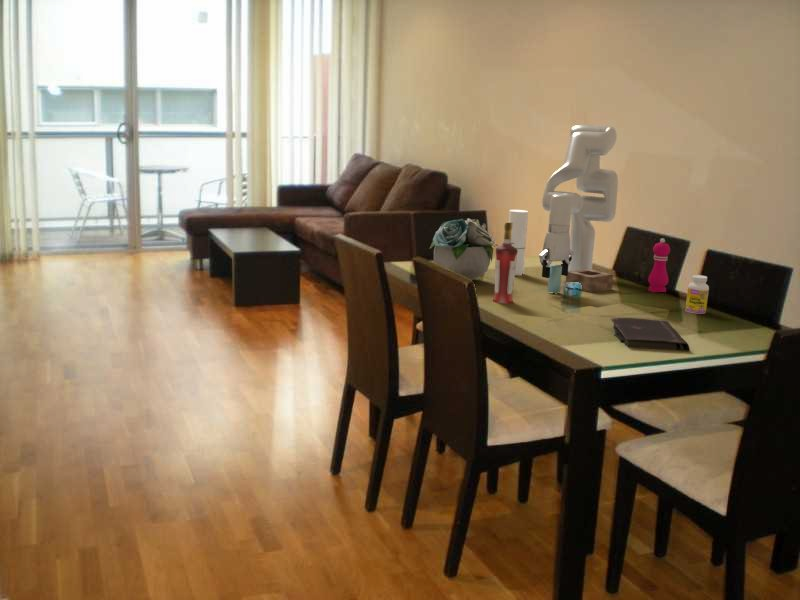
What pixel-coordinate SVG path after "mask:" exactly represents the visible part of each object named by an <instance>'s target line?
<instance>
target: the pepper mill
mask: <svg viewBox="0 0 800 600" xmlns="http://www.w3.org/2000/svg"><path fill="white" fill-rule="evenodd" d="M665 239H666V238H664V237H663V238H660V240H659V242H657V243H655V244H654V246H653V247H652V250H653V253H654V255H653V260H654V264H653V267H652V270H651V271H650V273H649V275H648V279H647V282H648V283H649V286H648V292H650V291H651V292H650V293H655V292H665V293H666V292H667V287H666V286H667V285H668V283H669V276H668V272H667V268H666V265H667V261H668V255H669V254H670V252H671V248H670V245H669V244H668V243H666V240H665Z"/></svg>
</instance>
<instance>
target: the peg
mask: <svg viewBox="0 0 800 600" xmlns="http://www.w3.org/2000/svg"><path fill="white" fill-rule="evenodd" d="M549 267H550V277H549V278H548V282H547V283H548V284H547V293H548V292H553V293H558V292H560V293H561V286H562V285H561V283H562V275H561V274H562V266H561V264H552V263H551V264H550V266H549Z"/></svg>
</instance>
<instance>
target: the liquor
mask: <svg viewBox="0 0 800 600" xmlns="http://www.w3.org/2000/svg"><path fill="white" fill-rule="evenodd" d="M503 224H504V226H503V228H504V229H503V231H504V232H503V233H504V234H503V237H502V238H503V239H502V244H501V245H498V246H496V247H495V259H494V260H495V261H494V271H495V272H494V274H495V275H494V294H493V295H494V296H493V299H492V301H493V303H496V304H497V303H498V304H506V305H509V304H512V303H514V301H513V291H514V284H515V283H514V282H515V276H516V275H515V269H516V260H517V252H518V250H517V249H516V248H515V247H513V246H511V230H512V224H513V222H509V221H504V223H503Z"/></svg>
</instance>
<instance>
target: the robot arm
mask: <svg viewBox="0 0 800 600" xmlns="http://www.w3.org/2000/svg"><path fill="white" fill-rule="evenodd" d="M569 136H570V137H569V141H568V145H567V148H566V153H565V155H564V156H565V157H564V160H563V161H564V162H563V164H562V166H561V167H560V168H559V169H557V170H556V171H555V172H554V173H553V174H552V175H550V176H549V178H548V179H547V181H546V183H545V188H544V190H543V191H544V192H543V194H542V200H541V204H542V208H543V209H544V210H545V211H547V212H549V214H548V215H549V217H548V226H547V227H548V228H547V232H546V233H545V237H544V240H543V248H542V252H541V253H539V254H538V257H539V260H540V261H539V262H540V265H541V267H542V271H541V277H542V278H545V279H549V277H550V265H552V263H553V262H561V263H560V265H561V266H562V274H561V276H564V277H566V276H568V271H575V270H582V269H591V270H593V260H594V259H593V258H594V250H595V249H594V248H595V239H596V238H595V237H596V231H595V228H594V225H593V224H592V223H591V222H603V223H610V222H612V221H613V220H614V219H615V216H616V213H617V212H616V211H617V201H618V190H619V189H618V188H619V177H618V174H617V172H616V171H614V170H612V169H606V168H605V169H604V168H600V164H601V162H600V161H601V156H606V155H608V154H609V153H610V152H611V150H612V149H613V148H614V146H615V144H616V141H617V131H616V128H614V127H612V126H608V125H594V124H593V125H592V124H577V125H573V126H572V127H571V129H570V130H569ZM574 179H576V182H575V184H576V189H577V190H578V191H579V192H582V193H588V194H598V195H603V196H595V195H585V194H584V195H581V194H579V193H577V192H567V191H561V190H560V191H559V190H555V189H556V188H557V187H558V186H560V185H561V184H563V183H565V182H567V181H571V180H574Z"/></svg>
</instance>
